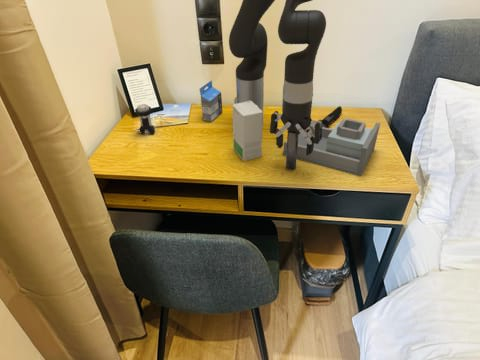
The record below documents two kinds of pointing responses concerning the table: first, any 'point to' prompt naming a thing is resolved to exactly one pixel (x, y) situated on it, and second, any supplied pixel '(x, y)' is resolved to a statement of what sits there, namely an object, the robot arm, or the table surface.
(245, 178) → the table surface
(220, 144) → the table surface
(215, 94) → the label tape cartridge
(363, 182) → the table surface
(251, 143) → the skincare box
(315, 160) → the bay
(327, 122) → the electric trimmer
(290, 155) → the handle peg
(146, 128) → the grey black upright piece
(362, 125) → the square socket block
